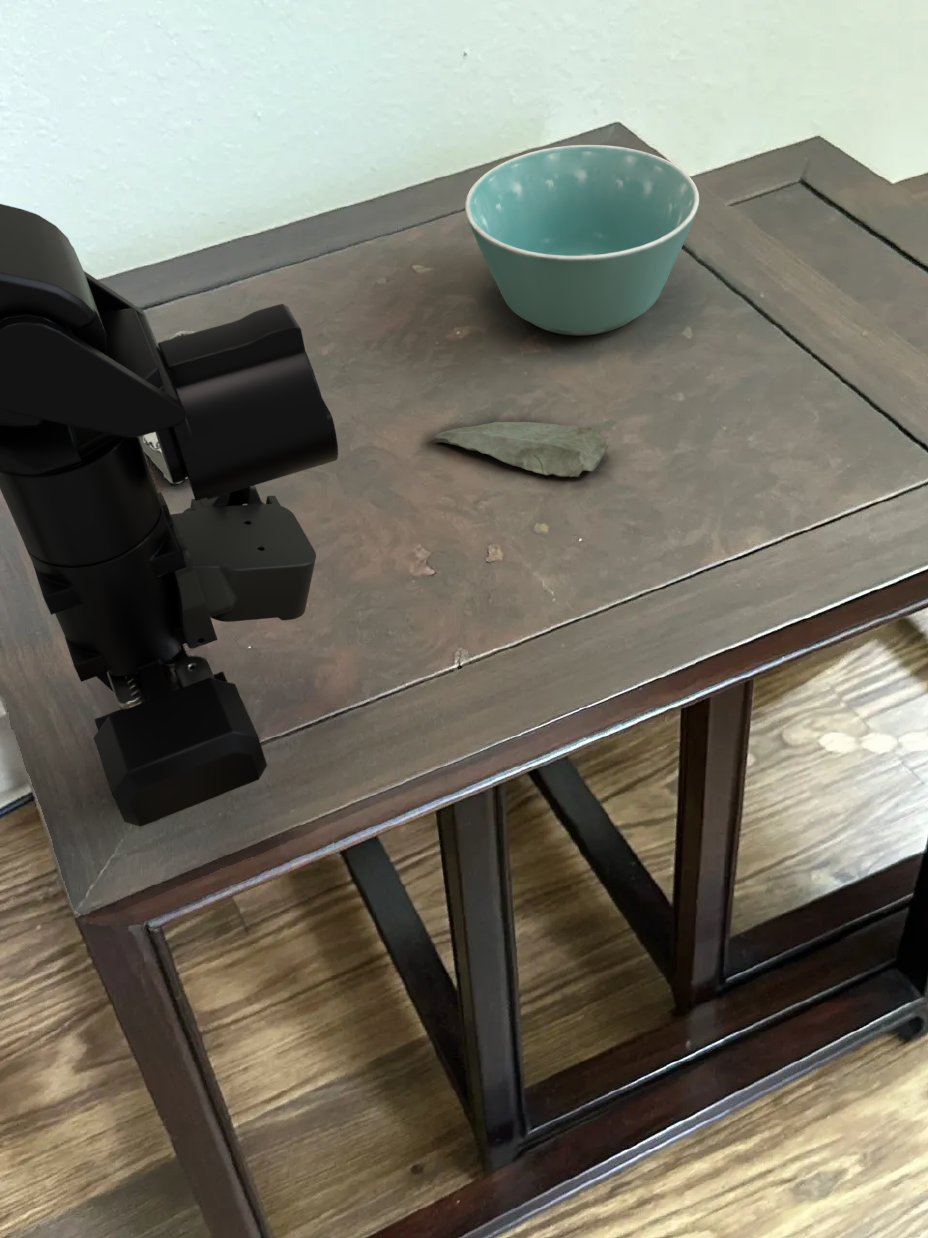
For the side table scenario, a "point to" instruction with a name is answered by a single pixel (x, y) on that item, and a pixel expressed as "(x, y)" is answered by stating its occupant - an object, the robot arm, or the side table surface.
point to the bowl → (582, 233)
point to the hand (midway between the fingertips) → (183, 756)
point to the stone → (533, 445)
